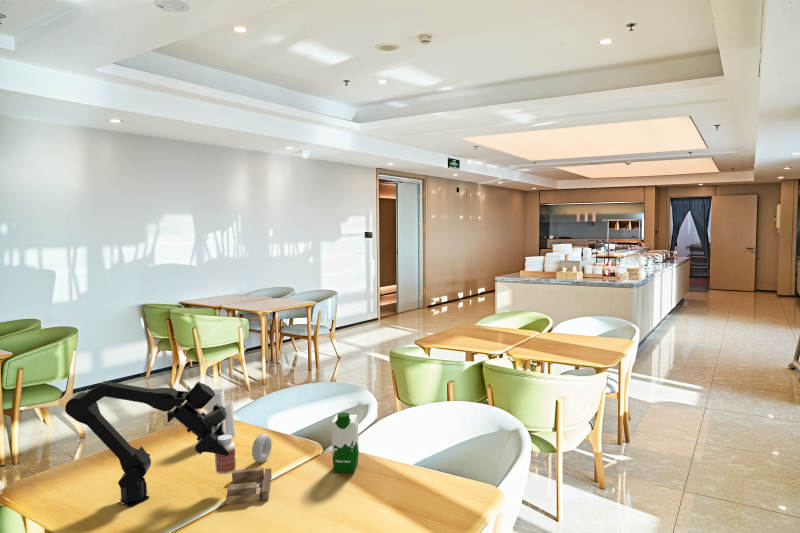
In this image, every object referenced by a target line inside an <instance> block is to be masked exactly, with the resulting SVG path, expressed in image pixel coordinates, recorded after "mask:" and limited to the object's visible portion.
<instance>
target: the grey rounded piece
mask: <svg viewBox="0 0 800 533" xmlns="http://www.w3.org/2000/svg"><path fill="white" fill-rule="evenodd" d="M272 445H273V444H272V438H271V436H270V435H269V434H268V433H261V434H259V435H257V437H256V438H255V439H254V441H253V444H252V448H251V455H252V459H253V460H254V461H255V462H256V463H263V462H265V461H266V460H268V458H269V457H270V454H271V451H272Z"/></svg>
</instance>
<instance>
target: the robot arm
mask: <svg viewBox="0 0 800 533" xmlns="http://www.w3.org/2000/svg"><path fill="white" fill-rule="evenodd" d="M213 390H214V389H213V388H211V386H209V385H207V384H205V383H202V382H200V381H197V382H196V383H195V384H194V386H193V387H192V388H191V389H190V390H188V391H186V390H177V388H175V387H158V388H157V387H156V388H147V387H141V386H136V385H130V384H124V383H119V382H113V381H110V380H104V381H102V382H101V383H99V384H98V385H95V387H93V388H91V389H89V390H88V391H87V392H85V391H83V392H78V393H77V394H76V395H74V396H73V397H72V398H70V399H69V400H68V401H67V402H66V403H65V406H64V407H65V408H64V410H65V413H66V414H67V415H68V416H69V417H70V418H72V419H73V420H75V421H76V422H78V423H81V424H84V425H85V426H87V427H88V428H89V429H90V430H91V431H92V432H93V434H95V436H97V438H99V440H100V441H101V442H102V443H103V444H104V445H105V446H106V447H107V448H108V449H109V450H110V451H111V452H112V453H113V455H115V457H117V459H118V460H119V463H120V467H121V470H122V471H123V475H122V476H121V477H120V479H119V480H118V482H117V484H118V486H119V489H120V499H119V500H121V501H120V502H122V503H124V504H126V505H128V506H127V507H129V506H132V505H134V504H136V505H138V504H140V503H142V502H144V501H146V500H148V499H150V496H149V495H148V489H147V481H146V478H145V476H146V474H147V472H148V470H149V469H150V468H151V466H152V465H151V464H152V459H151V457H150V456H151V454H150V453H148V452H147V451H146V450H145V448H144V447H143V446H140V447H138V448H135V447H133V446H132V445H130V443H129V442H128V441H127V440H126V439H125V438H124V437H123V436H122V435H121V434H120V433H119V431H117V430H116V428H115V427H114V426H113V425H112V424H111V423H110V422H109V421H108V420H107V419H106V417H104V416H103V415H102V413H101V411H100V408H99V405H98V404H99V403H98V402H99V400H102V399H103V398H106V397H107V398H110V399H111V398H112V399H116V400H124V401H129V402H135V403H141V404H146V405H148V406H150V407H151V408H152V409H155V410H159V411H161V412H166V414H167V423H170V422H171V421H172V420H173V419H175V420H177V421H178V422H179V423H180V424H181V425H183V426H184V427H185V428H186V432H187V433H188V434H189V433H190V432H191V433H192V434H194V435H195V436H196V440H197V441H196V444H195V446H194V449H195V452H196V453H197V454H198V455H201V454H202V453H210V454H211V453H212V454H214V455H215V454H220V455H224V456H228V454H229V452H228V451H227V450H226V448H225V447H224V446H223V445H222V444H221V443H220V442H219V440H218V437H219V436H221V435H225V433H224V432H223V423H222V424H221V425H220V426H219V425H218V424H219V423H221V422H222V421H223V420H225V419H226V416H227V414H226V412H225V408H224V407H223V406H220V405H218V404H217V405H215V406H214V407H213V411H211V412H210V413H209V414H207V413H205V411H204V412H202V411H201V412H200V411H198V410H199V409H200V410H203V408H204V407H206V406H207V403H208V402H209V401H210V400H211V399H212V398H213V397H214V396H215V393H214V391H213ZM147 498H148V499H147ZM145 499H146V500H145ZM143 500H144V501H143ZM141 501H142V502H141ZM139 502H140V503H139ZM122 503H121V504H122ZM137 503H138V504H137ZM124 504H123V505H124ZM126 505H125V506H126ZM134 506H135V505H134ZM132 507H133V506H132Z"/></svg>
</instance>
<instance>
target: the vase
mask: <svg viewBox="0 0 800 533" xmlns="http://www.w3.org/2000/svg"><path fill="white" fill-rule="evenodd" d="M212 390H213V391H214V393H215V396H214V397H213V398H212V399H211V400H210V401H209V402H208V403H207V404H206V412H207V413H206V414H209V413H210V412H211V411H213V407H214V406H215V405H217V404H218V405H220V406H223V407H224V408H225V412H226V414H227V416H226V419H225V420H223V421H222V422H221V423H219V424H218V425H219V426H220V425H221V424H222V423H223V432H224V433H225V435H232V438H234V437H235V436H236V430H235V429H236V428H235V408H234V403H235V402H234V401H233V400H226V401H225V390H224V389H218V388H217V389H212ZM233 436H234V437H233Z"/></svg>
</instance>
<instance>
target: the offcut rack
mask: <svg viewBox="0 0 800 533" xmlns="http://www.w3.org/2000/svg"><path fill="white" fill-rule="evenodd" d="M272 476H273V475H272V468H271V467H269V468H264V467H256V468H243V469H235V471H233V472H232V473H231V479H232V480H231V481H232V482H231V484H228V486H227V490H226V495H225V504H226V505H235V504H237V505H238V504H246V503H257V502H265V501H266V502H267V501H269V500H270V491H271V490H270V489H271V485H272V484H271V483H272ZM246 481H251V482H246ZM259 481H262V486H261V487H259V486H258V483H257V482H259ZM236 482H240V483H236Z"/></svg>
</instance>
